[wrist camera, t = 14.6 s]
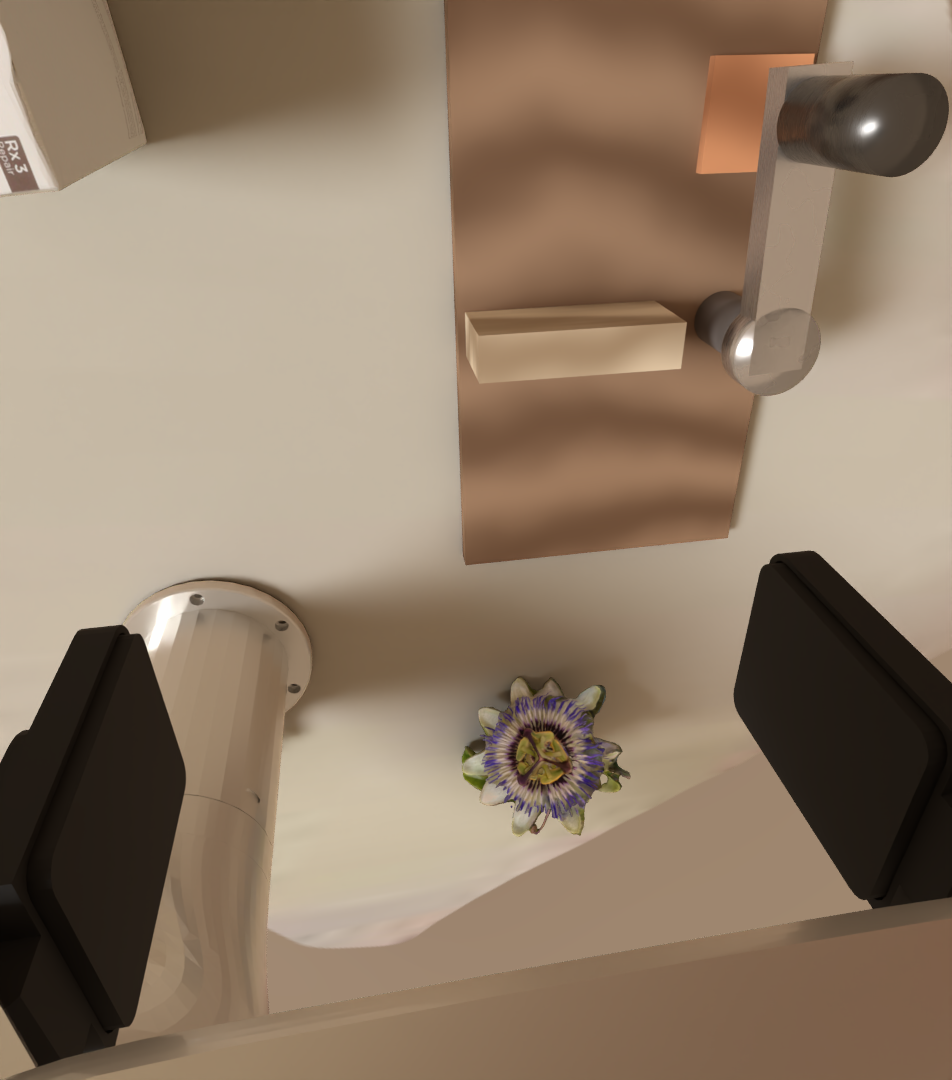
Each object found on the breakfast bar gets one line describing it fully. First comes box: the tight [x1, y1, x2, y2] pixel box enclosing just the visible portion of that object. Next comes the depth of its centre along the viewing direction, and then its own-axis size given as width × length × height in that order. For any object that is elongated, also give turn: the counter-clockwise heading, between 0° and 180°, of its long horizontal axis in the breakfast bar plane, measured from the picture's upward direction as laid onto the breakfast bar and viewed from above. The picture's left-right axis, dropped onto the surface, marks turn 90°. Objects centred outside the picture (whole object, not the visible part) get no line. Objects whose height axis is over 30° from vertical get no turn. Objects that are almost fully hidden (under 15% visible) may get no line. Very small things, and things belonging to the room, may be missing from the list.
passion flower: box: [462, 677, 630, 837], centre depth 55 cm, size 11×11×12 cm
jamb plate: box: [444, 0, 828, 565], centre depth 40 cm, size 30×18×6 cm, turn 1°
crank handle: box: [721, 61, 949, 396], centre depth 32 cm, size 14×4×8 cm, turn 4°
